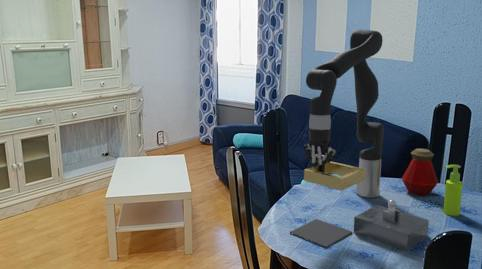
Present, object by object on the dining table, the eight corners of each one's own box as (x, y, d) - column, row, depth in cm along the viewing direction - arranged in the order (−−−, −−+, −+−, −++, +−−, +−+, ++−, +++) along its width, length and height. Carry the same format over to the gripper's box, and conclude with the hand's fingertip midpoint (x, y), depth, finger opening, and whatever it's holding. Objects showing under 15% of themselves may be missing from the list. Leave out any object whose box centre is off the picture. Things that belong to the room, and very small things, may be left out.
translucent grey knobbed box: (353, 232, 152) (355, 198, 149) (376, 219, 163) (377, 187, 160) (406, 251, 138) (409, 214, 135) (427, 235, 149) (430, 201, 146)
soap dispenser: (437, 210, 170) (442, 163, 166) (454, 209, 170) (458, 162, 166) (446, 216, 164) (450, 167, 160) (462, 215, 165) (467, 167, 160)
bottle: (394, 191, 192) (397, 149, 188) (411, 184, 200) (414, 144, 196) (426, 201, 180) (430, 156, 176) (443, 194, 188) (447, 151, 184)
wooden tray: (303, 180, 147) (304, 169, 146) (328, 171, 157) (328, 161, 156) (341, 190, 136) (341, 179, 135) (365, 180, 147) (365, 169, 146)
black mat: (289, 233, 152) (289, 231, 152) (316, 220, 163) (316, 218, 163) (326, 248, 141) (326, 246, 141) (352, 233, 151) (352, 231, 151)
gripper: (297, 125, 150) (297, 171, 153) (330, 130, 140) (328, 180, 144) (310, 122, 155) (309, 167, 159) (342, 127, 145) (340, 175, 149)
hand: (318, 173), depth 151 cm, fingers closed on wooden tray
